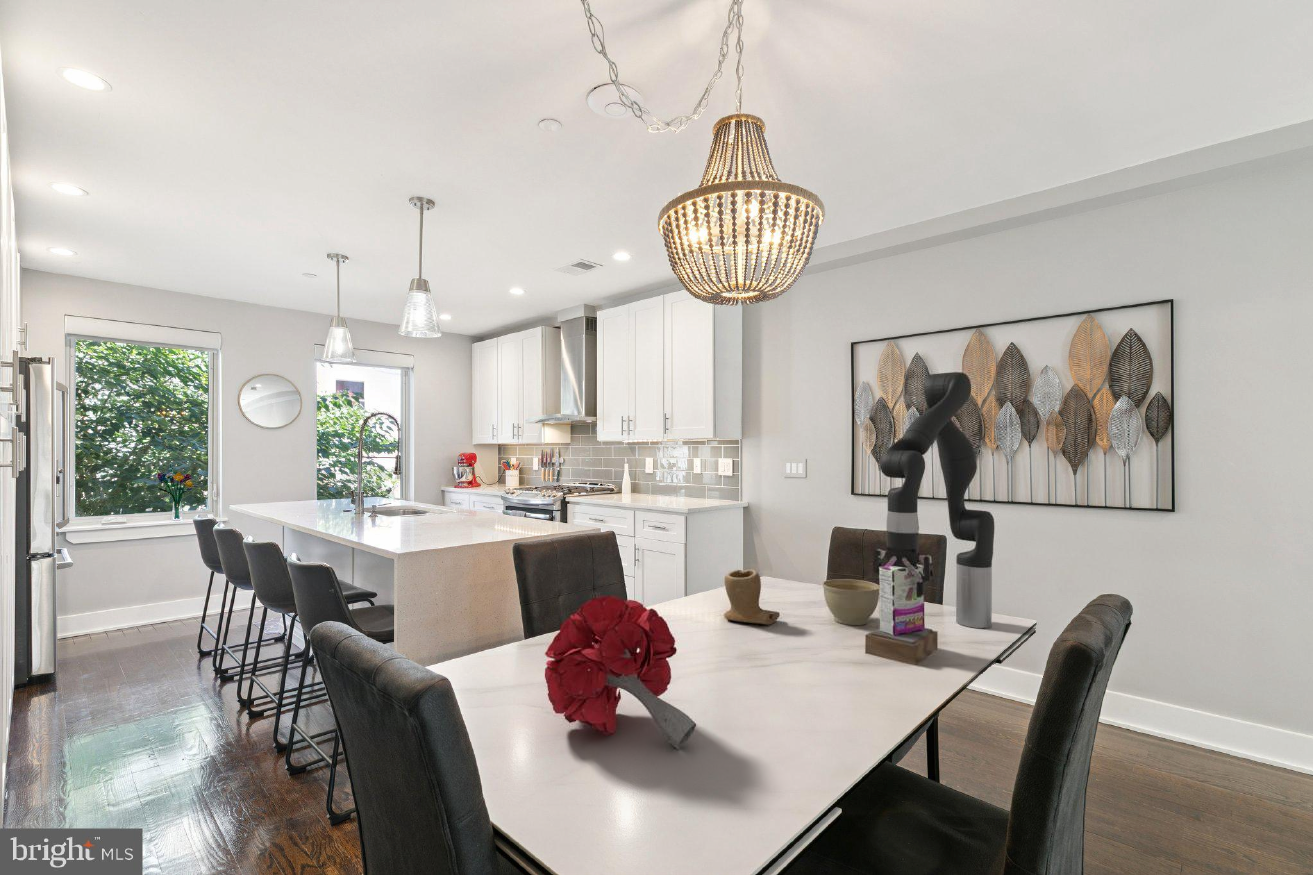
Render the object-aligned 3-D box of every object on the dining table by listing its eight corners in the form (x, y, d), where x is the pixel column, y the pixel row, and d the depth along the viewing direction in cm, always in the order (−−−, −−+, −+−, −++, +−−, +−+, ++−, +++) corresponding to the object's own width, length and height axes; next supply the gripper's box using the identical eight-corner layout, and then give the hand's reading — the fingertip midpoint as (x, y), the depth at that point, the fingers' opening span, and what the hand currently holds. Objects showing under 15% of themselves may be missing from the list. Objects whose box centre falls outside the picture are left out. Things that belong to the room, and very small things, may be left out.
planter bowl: (885, 619, 183) (885, 582, 183) (872, 633, 169) (873, 593, 169) (831, 611, 191) (831, 576, 191) (815, 623, 178) (815, 585, 178)
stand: (890, 638, 164) (890, 619, 164) (937, 649, 156) (937, 629, 156) (865, 653, 152) (865, 632, 152) (914, 665, 144) (914, 643, 144)
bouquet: (693, 751, 116) (586, 646, 130) (747, 657, 108) (627, 557, 122) (624, 815, 98) (508, 686, 112) (684, 709, 91) (551, 585, 104)
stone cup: (716, 623, 177) (717, 571, 177) (732, 613, 187) (732, 564, 187) (766, 631, 169) (767, 577, 169) (780, 621, 180) (780, 569, 180)
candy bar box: (909, 625, 159) (909, 562, 159) (925, 630, 155) (925, 565, 155) (877, 631, 154) (878, 565, 154) (893, 636, 150) (893, 569, 150)
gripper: (868, 528, 157) (868, 591, 156) (926, 534, 147) (926, 601, 147) (880, 525, 162) (880, 586, 162) (936, 530, 152) (936, 595, 152)
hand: (902, 593), depth 154 cm, fingers open, 8 cm apart
